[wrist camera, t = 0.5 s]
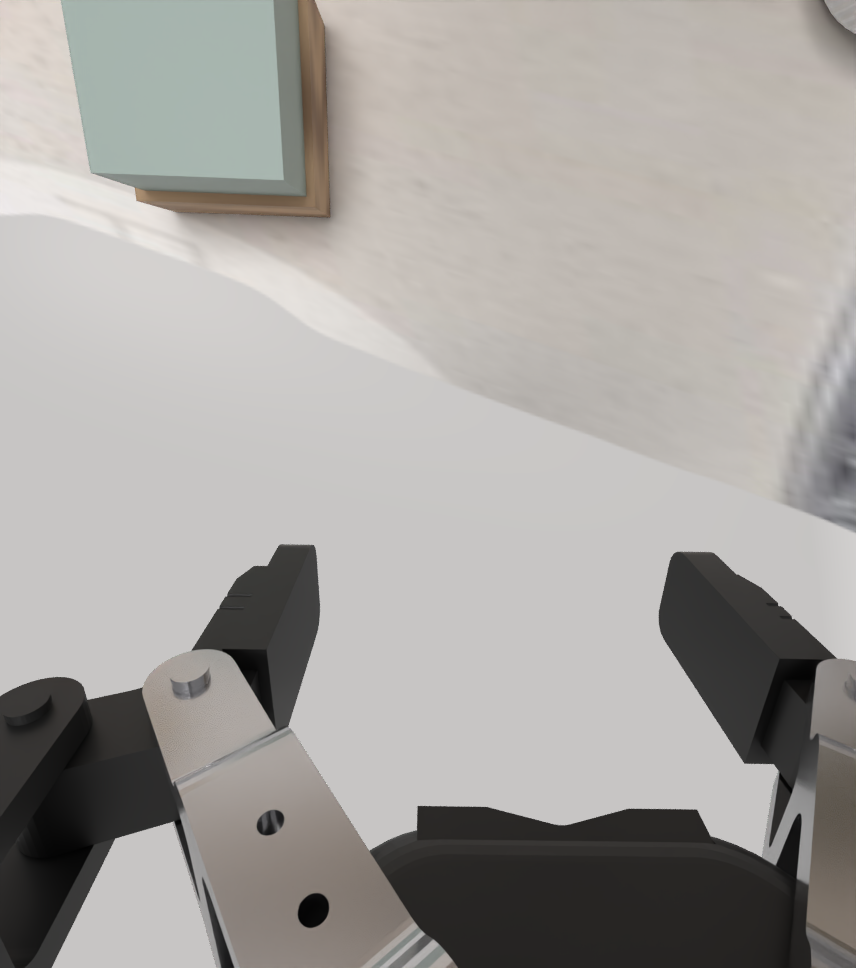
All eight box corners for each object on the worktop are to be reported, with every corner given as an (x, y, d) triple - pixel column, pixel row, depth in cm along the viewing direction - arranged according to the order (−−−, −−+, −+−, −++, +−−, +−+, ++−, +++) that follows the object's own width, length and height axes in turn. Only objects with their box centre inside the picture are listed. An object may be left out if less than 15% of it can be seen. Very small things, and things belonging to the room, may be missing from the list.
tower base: (152, 19, 30) (102, -29, 26) (324, 26, 30) (306, -20, 26) (176, 211, 34) (136, 200, 29) (330, 217, 34) (315, 207, 29)
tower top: (115, -16, 26) (46, -82, 21) (297, -8, 26) (269, -72, 21) (144, 190, 29) (90, 172, 24) (306, 196, 29) (283, 180, 25)
